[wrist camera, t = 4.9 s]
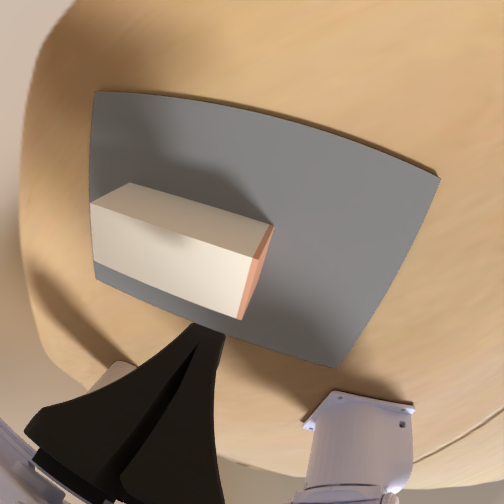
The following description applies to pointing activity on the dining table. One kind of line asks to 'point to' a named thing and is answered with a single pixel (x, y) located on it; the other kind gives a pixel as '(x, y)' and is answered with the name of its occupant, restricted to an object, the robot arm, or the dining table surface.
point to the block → (180, 246)
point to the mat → (270, 212)
